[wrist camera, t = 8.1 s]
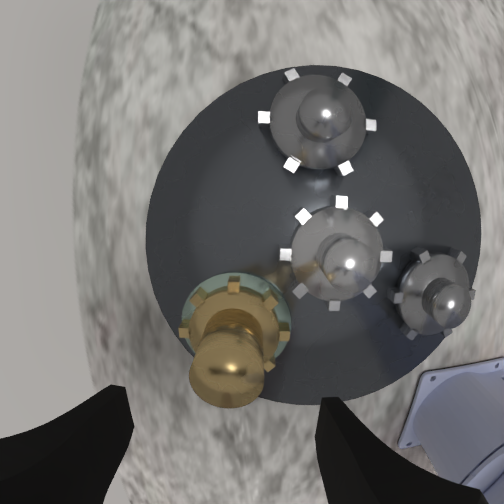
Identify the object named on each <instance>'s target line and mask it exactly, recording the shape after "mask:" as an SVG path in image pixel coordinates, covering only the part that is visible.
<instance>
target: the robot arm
mask: <svg viewBox="0 0 504 504" xmlns="http://www.w3.org/2000/svg"><path fill="white" fill-rule="evenodd" d="M432 376H433V378H431V377H432ZM133 429H134V423H133V419H132V415H131V411H130V407H129V402H128V398H127V393H126V389H125V387H122V386H116V385H109V386H108V387H106V388H104V389H103V390H101V391H100V392H98V393H97V394H95V395H94V396H92V397H91V398H89V399H87V400H86V401H84V402H83V403H81V404H80V405H78V406H77V407H75V408H73V409H72V410H70V411H68V412H66V413H65V414H63V415H61V416H59V417H57V418H56V419H54V420H52V421H50V422H48V423H46V424H44V425H41V426H39V427H37V428H34V429H32V430H29V431H26V432H23V433H20V434H16V435H13V436H10V437H6V438H1V439H0V504H103V502H104V498H105V495H106V493H107V491H108V488H109V486H110V484H111V482H112V479H113V478H114V475H115V473H116V471H117V469H118V467H119V465H120V463H121V461H122V459H123V457H124V455H125V452H126V450H127V448H128V445H129V442H130V439H131V436H132V432H133ZM315 442H316V452H317V460H318V464H319V468H320V472H321V476H322V480H323V484H324V488H325V492H326V496H327V499H328V503H329V504H504V357H503V358H499V359H494V360H490V361H485V362H480V363H475V364H470V365H465V366H459V367H454V368H448V369H441V370H435V371H428V372H425V373H424V374H423V375H422V376H421V378H420V381H419V384H418V388H417V391H416V394H415V397H414V400H413V403H412V406H411V409H410V412H409V415H408V418H407V421H406V423H405V426H404V429H403V432H402V434H401V437H400V439H399V442H398V447H399V448H400V449H404V448H409V447H414V446H418V445H422V447H423V448H424V450H425V452H426V454H427V456H428V458H429V459H430V461H431V463H432V465H433V467H434V469H435V471H436V472H437V474H438V476H437V475H434V474H432V473H430V472H428V471H426V470H424V469H422V468H420V467H418V466H416V465H415V464H413V463H411V462H410V461H408V460H406V459H405V458H403V457H402V456H400V455H399V454H398V453H396V452H395V451H393V450H392V449H391V448H389V447H388V446H387V445H386V444H384V443H383V442H382V441H381V440H380V439H379V438H377V437H376V436H375V435H374V434H373V433H372V432H371V431H370V430H369V429H368V428H367V427H366V426H365V425H364V424H363V423H362V422H361V421H360V420H359V419H358V418H357V417H356V416H355V415H354V413H353V412H352V411H351V410H350V409H349V408H348V407H347V406H346V404H345V403H344V402H343V401H342V400H341V399H340V398H339V397H322V399H321V405H320V411H319V417H318V423H317V428H316V434H315Z"/></svg>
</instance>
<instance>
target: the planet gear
mask: <svg viewBox="0 0 504 504" xmlns="http://www.w3.org/2000/svg"><path fill="white" fill-rule="evenodd" d="M240 278H241V276H229V279H228V286H223V287H220V288H217V289H215V290H213V291H211V292H209V293H207V292H205V291H204V290H203V289H202V288H201V287H199V288H198V289H197V290H196V291H195V292H194V293H193V295H192V296H191V298H190V300H189V301H190V302H191V303H192V304H193V305H194V306H195V307H196V308H195V310H194V312H193V315H192V317H191V319H190V320H185V319H183V321H182V322H181V324H180V326H179V338H189V340H190V343H191V346H192V348H193V350H194V351H195V353H196V354H195V357H194V360H193V362H192V365H191V368H190V372H189V380H190V384H191V386H192V388H193V390H194V392H195V393H196V394H197V395H198V396H199V397H200V398H201V399H202V400H204V401H205V402H207V403H209V404H211V405H213V406H217V407H221V408H238V407H242V406H245V405H247V404H249V403H251V402H253V401H254V400H255V399H256V398H257V397H258V396H259V395H260V393H261V391H262V389H263V386H264V369H265V370H266V371H267V372H269V371H270V370H271V369H273V368H274V367H275V366H276V365H275V356H274V355H273V354H274V353H275V351H276V349H277V347H278V343H279V341H289V340H290V329H289V324H288V323H281V322H278V317H277V314H276V311H275V309H274V307H275V306H276V305H277V304H278V303H279V301H278V296H277V295H276V294H275V293H274V292H273V291H272V290H271V289H269V290H268V291H267V292H266V293H264V294H263V295H262V294H261V293H259V292H257V291H255V290H253V289H251V288H248V287H244V286H240Z"/></svg>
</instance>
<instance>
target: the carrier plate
mask: <svg viewBox="0 0 504 504" xmlns="http://www.w3.org/2000/svg"><path fill="white" fill-rule="evenodd" d="M480 245H481V218H480V208H479V202H478V197H477V192H476V188H475V185H474V182H473V178H472V175H471V172H470V170H469V167H468V165H467V163H466V161H465V158H464V156H463V154H462V152H461V150H460V149H459V147H458V145H457V144H456V142H455V141H454V139H453V137H452V136H451V134H450V133H449V132H448V130H447V129H446V128H445V127H444V125H443V124H442V123H441V122H440V121H439V119H438V118H437V117H436V116H435V115H434V114H433V113H432V112H431V111H430V110H429V109H428V108H426V107H425V106H424V105H423V104H422V103H421V102H420V101H419V100H417V99H416V98H414V97H413V96H412V95H410V94H409V93H407V92H406V91H404V90H403V89H401V88H399V87H398V86H396V85H394V84H392V83H390V82H388V81H386V80H384V79H382V78H379V77H376V76H374V75H371V74H368V73H365V72H362V71H359V70H354V69H348V68H343V67H337V66H320V65H309V66H299V67H290V68H285V69H281V70H277V71H273V72H269V73H265V74H262V75H260V76H258V77H255V78H253V79H250V80H248V81H246V82H243V83H241V84H239V85H238V86H236V87H234V88H233V89H231V90H229V91H228V92H226V93H224V94H223V95H221V96H220V97H218V98H217V99H216V100H215V101H213V102H212V103H211V104H210V105H209V106H207V107H206V108H205V109H204V110H203V111H201V112H200V113H199V114H198V115H197V116H196V117H195V119H194V120H193V121H192V122H191V123H190V124H189V125H188V126H187V127H186V129H185V130H184V131H183V132H182V134H181V135H180V136H179V138H178V139H177V141H176V142H175V144H174V145H173V147H172V148H171V150H170V151H169V153H168V155H167V157H166V159H165V161H164V163H163V165H162V168H161V170H160V172H159V174H158V176H157V179H156V183H155V186H154V189H153V192H152V195H151V199H150V204H149V210H148V216H147V222H146V254H147V263H148V271H149V275H150V279H151V283H152V286H153V290H154V294H155V296H156V299H157V301H158V304H159V306H160V308H161V311H162V313H163V315H164V317H165V319H166V320H167V322H168V324H169V326H170V327H171V329H172V331H173V332H174V334H175V335H176V337H177V338H178V339H179V340H180V342H181V343H182V344H183V346H184V347H185V348H186V349H187V351H188V352H189V353H190V354H191V355H192V356H193V357H195V354H196V353H195V351H194V350H193V348H192V346H191V343H190V340H189V338H179V326H180V324H181V322H182V321H183V319H185V320H190V319H191V317H192V315H193V312H194V310H195V308H196V307H195V306H194V305H193V304H192V303H191V302H190V301H189V300H190V298H191V296H192V295H193V293H194V292H195V291H196V290H197V289H198V288H199V287H201V288H202V289H203V290H204V291H205V292H207V293H209V292H211V291H213V290H215V289H217V288H220V287H223V286H228V279H229V276H241V278H240V286H244V287H248V288H251V289H253V290H255V291H257V292H259V293H261V294H262V295H263V294H264V293H266V292H267V291H268V290H269V289H271V290H272V291H273V292H274V293H275V294H276V295H277V296H278V301H279V303H278V304H277V305H276V306H275V307H274V309H275V311H276V314H277V317H278V322H281V323H288V324H289V329H290V340H289V341H279V343H278V347H277V349H276V351H275V353H274V354H273V355H274V356H275V365H276V366H275V367H274V368H273V369H271V370H270V371H269V372H267V371H266V370H265V369H264V386H263V389H262V391H261V393H260V395H259V396H258V397H261V398H264V399H268V400H272V401H276V402H282V403H289V404H296V405H321V399H322V397H339V398H340V399H341V400H342V401H347V400H351V399H356V398H359V397H362V396H364V395H367V394H370V393H373V392H375V391H377V390H380V389H382V388H384V387H386V386H388V385H390V384H392V383H393V382H395V381H397V380H398V379H400V378H401V377H403V376H404V375H406V374H407V373H409V372H410V371H412V370H413V369H414V368H415V367H416V366H418V365H419V364H420V363H421V362H423V361H424V360H425V359H426V358H427V357H428V356H429V355H430V354H431V353H432V352H433V351H434V350H435V349H436V348H437V347H438V346H439V344H440V343H441V342H442V340H443V339H444V338H445V337H447V336H448V335H450V334H451V333H452V328H455V327H457V326H459V325H460V324H461V323H462V322H463V321H464V320H465V319H466V317H467V316H468V314H469V311H470V308H471V300H473V299H474V296H475V291H476V290H474V289H472V285H473V282H474V279H475V275H476V271H477V266H478V261H479V255H480Z"/></svg>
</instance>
